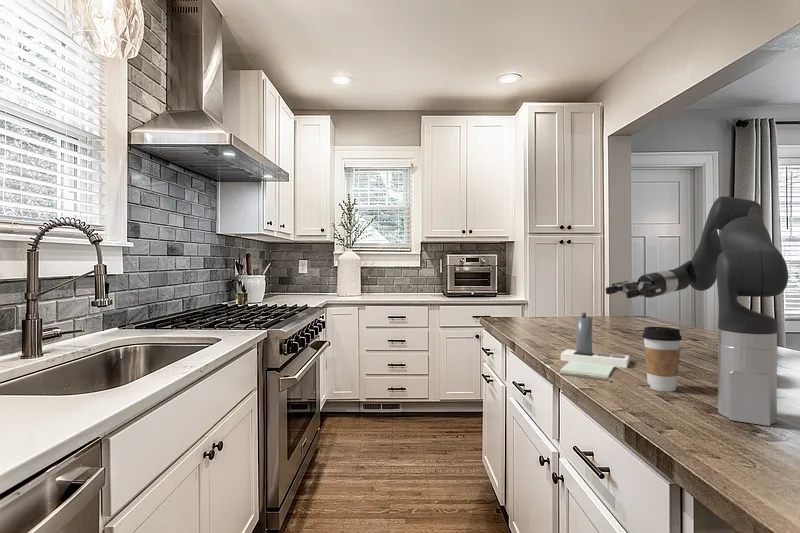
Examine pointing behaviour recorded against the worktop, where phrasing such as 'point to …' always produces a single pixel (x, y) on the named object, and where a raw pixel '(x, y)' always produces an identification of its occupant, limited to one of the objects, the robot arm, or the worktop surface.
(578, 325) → the grey bottle
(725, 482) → the worktop surface
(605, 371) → the pad
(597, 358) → the power strip
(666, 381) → the coffee cup
